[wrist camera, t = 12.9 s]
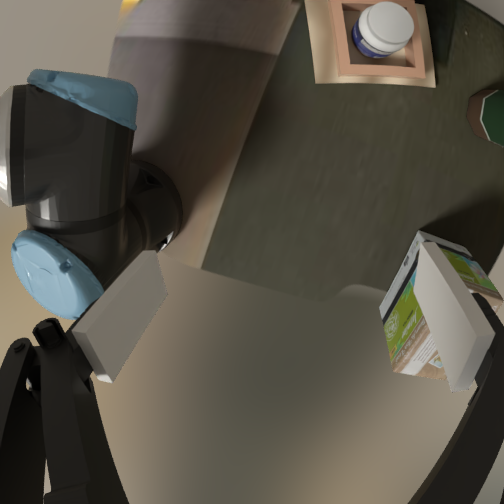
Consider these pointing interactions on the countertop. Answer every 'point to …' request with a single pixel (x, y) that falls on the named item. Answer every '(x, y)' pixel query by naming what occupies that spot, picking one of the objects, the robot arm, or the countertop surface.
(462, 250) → the tea box
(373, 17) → the pill bottle
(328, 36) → the board
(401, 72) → the well
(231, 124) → the countertop surface
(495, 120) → the beer bottle
